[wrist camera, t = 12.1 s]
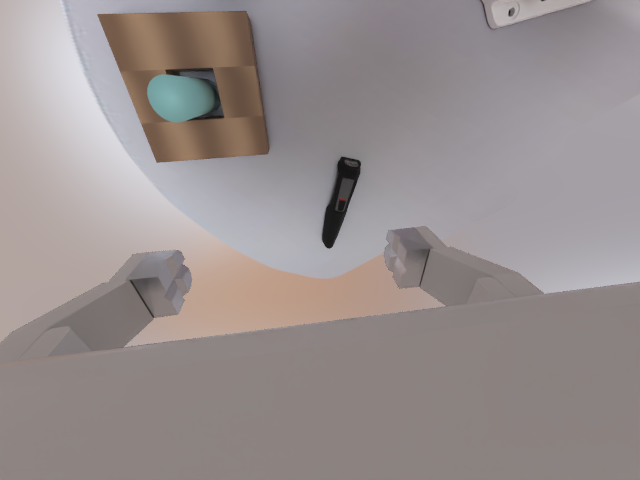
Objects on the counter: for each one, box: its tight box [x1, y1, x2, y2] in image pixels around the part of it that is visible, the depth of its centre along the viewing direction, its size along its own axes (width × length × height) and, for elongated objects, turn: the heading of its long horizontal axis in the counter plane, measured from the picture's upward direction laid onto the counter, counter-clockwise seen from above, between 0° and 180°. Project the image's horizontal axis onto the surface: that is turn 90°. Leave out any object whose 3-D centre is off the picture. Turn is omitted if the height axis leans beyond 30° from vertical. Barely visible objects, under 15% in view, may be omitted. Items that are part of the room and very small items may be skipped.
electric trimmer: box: [322, 157, 361, 248], centre depth 41 cm, size 4×16×3 cm, turn 166°
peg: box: [147, 75, 221, 123], centre depth 26 cm, size 4×4×12 cm
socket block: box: [97, 11, 269, 163], centre depth 29 cm, size 14×14×4 cm
